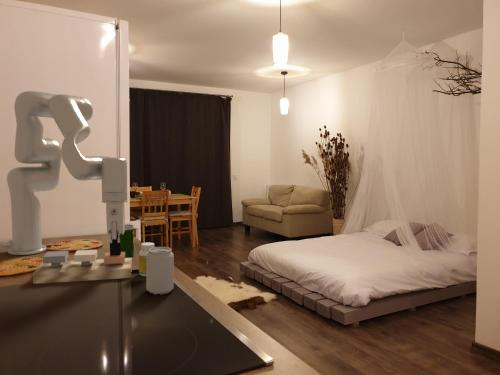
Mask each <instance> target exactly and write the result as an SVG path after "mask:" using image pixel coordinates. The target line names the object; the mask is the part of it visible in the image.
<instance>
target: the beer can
mask: <svg viewBox="0 0 500 375" xmlns="http://www.w3.org/2000/svg"><path fill="white" fill-rule="evenodd" d="M120 242H121V252H125V258H132V260H134V258H135V227H134V224H126V223H125V231H124V234H123V235H122V233H120Z"/></svg>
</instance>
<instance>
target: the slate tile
mask: <svg viewBox="0 0 500 375" xmlns="http://www.w3.org/2000/svg"><path fill="white" fill-rule="evenodd" d="M68 258H69V250H57V251H56V250H54V251H46V253H44V255H43V256H42V262H43V263H51V267H60V266H61V263H63V262H66V261H68Z"/></svg>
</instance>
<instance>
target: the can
mask: <svg viewBox="0 0 500 375" xmlns="http://www.w3.org/2000/svg"><path fill="white" fill-rule="evenodd" d="M174 255H175V254H174V252H172V248H171V247H167V246H154V248H151V249H149V253H148V254H147V255H146V276H145V277H146V279H145V280H146V281H145V282H146V285H145V287H146V291H147V292H149V293H150V294H151V293H153V294H152V295H157V294H160V295H165V294H169V293H170V292H172V290H173V289H174V287H175V286H174V282H175V280H174V276H175V275H174V273H175V272H174V265H175V264H174V263H175V261H174V260H175V259H174V257H175V256H174Z"/></svg>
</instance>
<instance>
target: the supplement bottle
mask: <svg viewBox="0 0 500 375" xmlns="http://www.w3.org/2000/svg"><path fill="white" fill-rule="evenodd" d="M140 246H141V250H139V253H138V273H139V275H140V276H142V277H146V255H147V254H148V253H149V249H151V248H154V247H155V243H154V242H142V243H140Z"/></svg>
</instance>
